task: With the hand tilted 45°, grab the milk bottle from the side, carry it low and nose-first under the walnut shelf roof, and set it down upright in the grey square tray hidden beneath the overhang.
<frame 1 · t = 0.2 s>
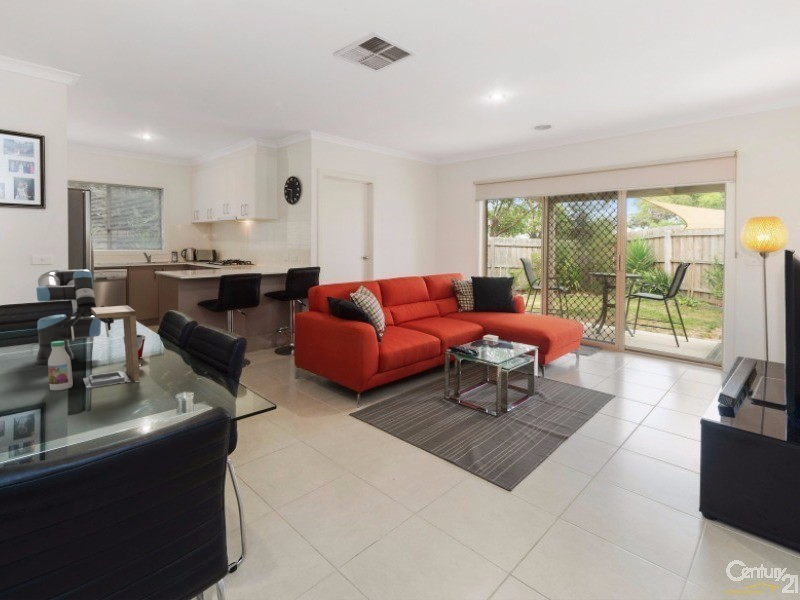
hand: (91, 337, 207), 16 cm above the table, tool tilted 35°, fingers open, 13 cm apart
milk bottle: (61, 388, 182), on the table
grey square tray: (106, 380, 193), on the table
plastic cup: (135, 358, 230), on the table
overhang shelf: (117, 379, 195), on the table
wine glass: (134, 365, 217), on the table
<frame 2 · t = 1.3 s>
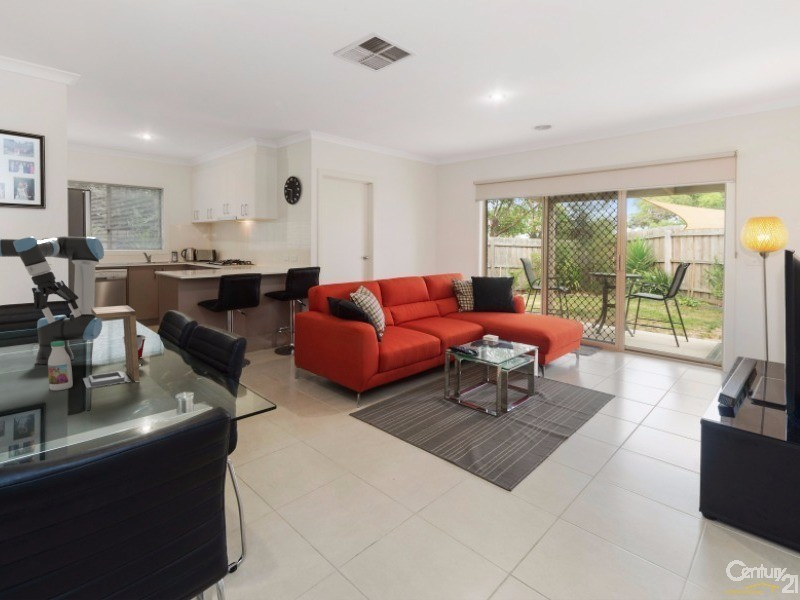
hand: (65, 319, 189), 28 cm above the table, tool tilted 20°, fingers open, 13 cm apart
nothing on the table moved.
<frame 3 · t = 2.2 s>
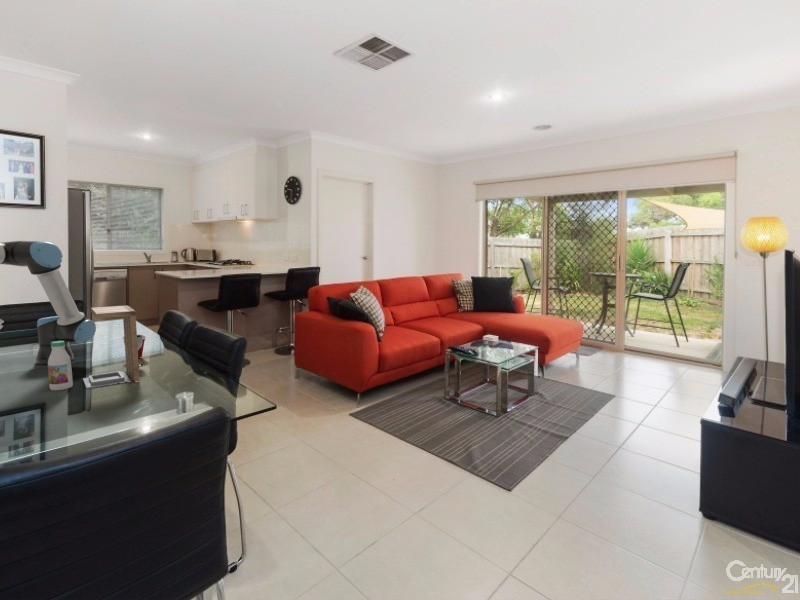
hand: (0, 326, 168), 28 cm above the table, tool tilted 45°, fingers open, 13 cm apart
nothing on the table moved.
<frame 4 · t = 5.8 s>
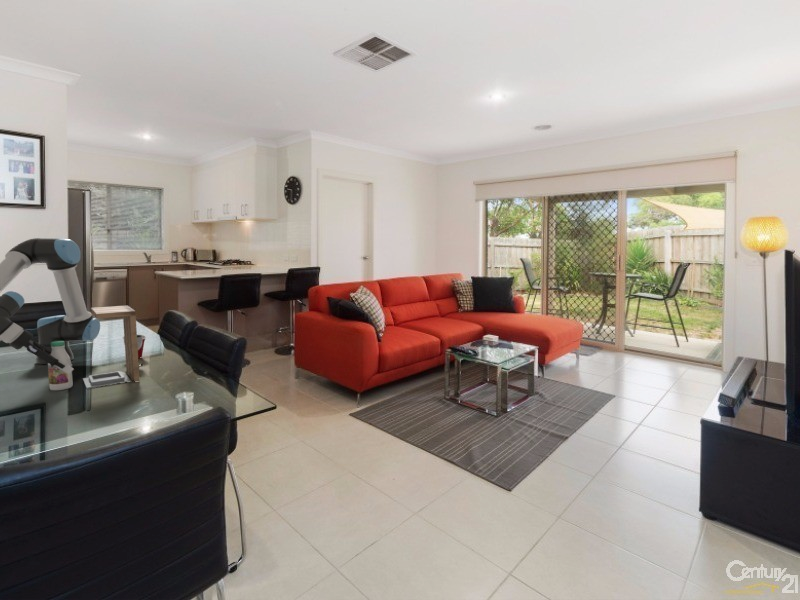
hand: (70, 369, 184), 8 cm above the table, tool tilted 45°, fingers closed on milk bottle, 7 cm apart
milk bottle: (61, 388, 182), on the table, touching gripper
everything else where it was.
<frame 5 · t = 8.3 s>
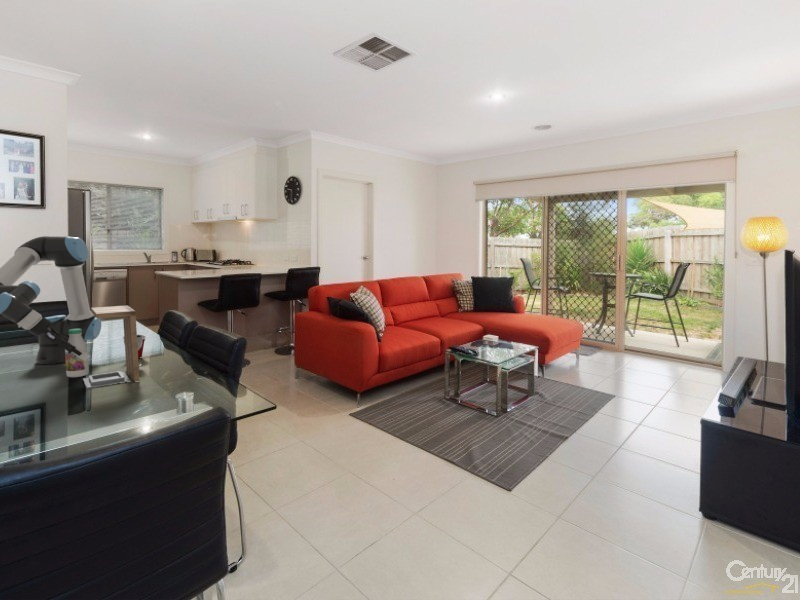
hand: (86, 356, 186), 12 cm above the table, tool tilted 45°, fingers closed on milk bottle, 7 cm apart
milk bottle: (77, 375, 185), point 4 cm above the table, touching gripper
everything else where it was.
when the fingers open (9 cm above the table, at t = 11.2 s): milk bottle drops 1 cm, resting on grey square tray.
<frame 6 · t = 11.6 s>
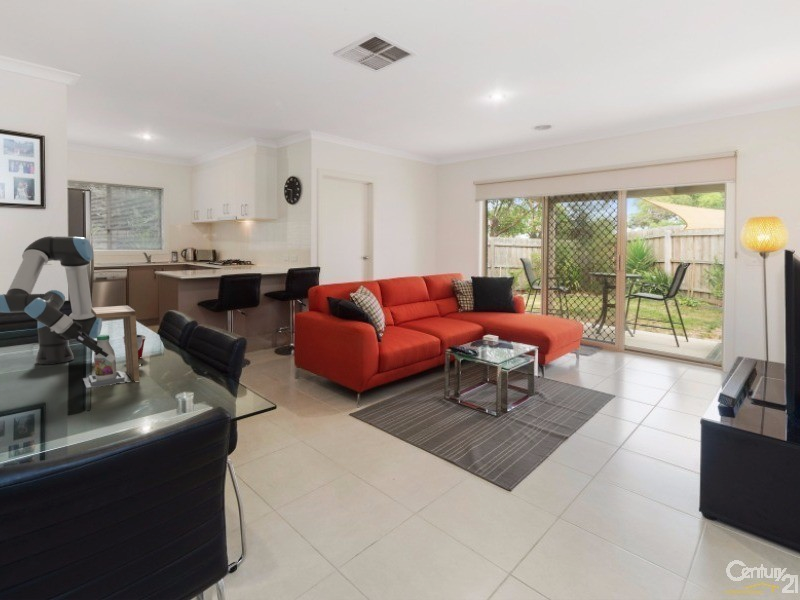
hand: (111, 356, 193), 11 cm above the table, tool tilted 45°, fingers open, 13 cm apart
milk bottle: (106, 379, 193), resting on grey square tray
everything else where it was.
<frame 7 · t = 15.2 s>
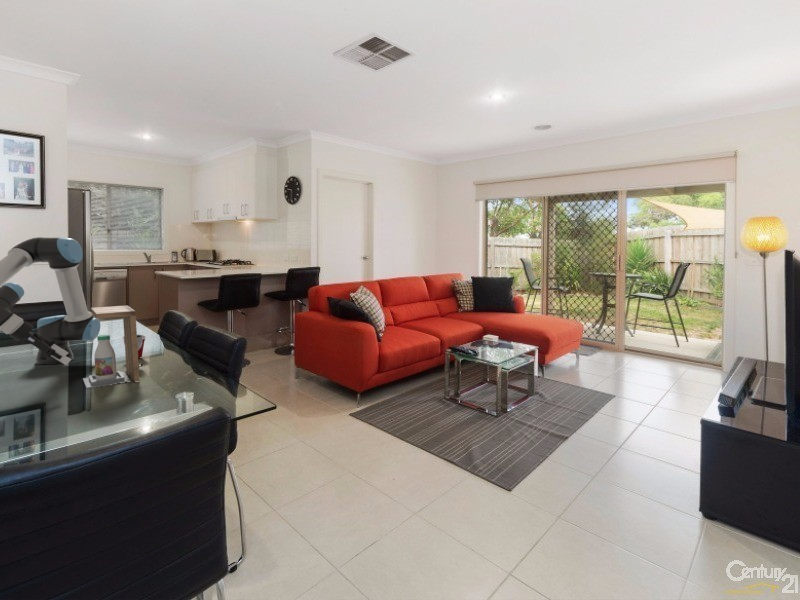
hand: (67, 358, 182), 12 cm above the table, tool tilted 45°, fingers open, 13 cm apart
nothing on the table moved.
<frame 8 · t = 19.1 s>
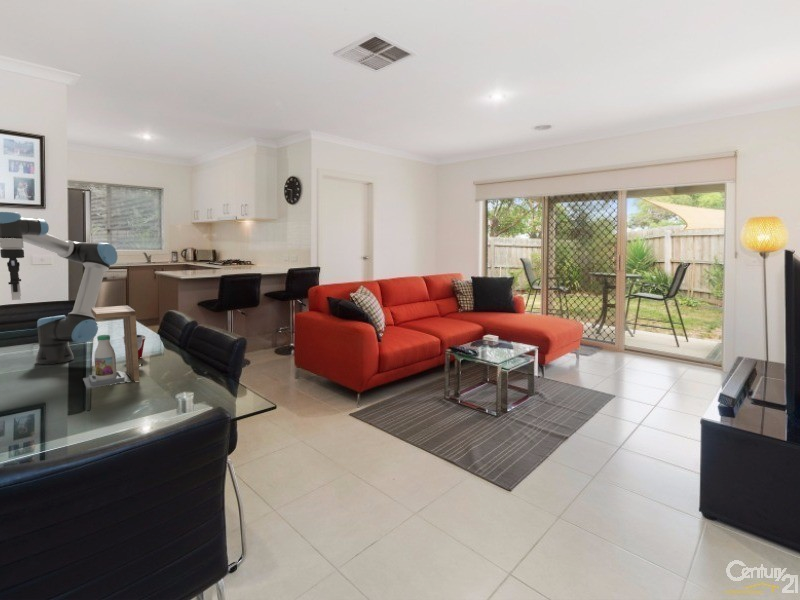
hand: (16, 298, 187), 37 cm above the table, tool pointing down, fingers open, 13 cm apart
nothing on the table moved.
at the end: milk bottle 0.1 cm off-centre on the grey square tray, point 0.4 cm above the grey square tray's base; milk bottle tilted 0°; the gripper is holding nothing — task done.
